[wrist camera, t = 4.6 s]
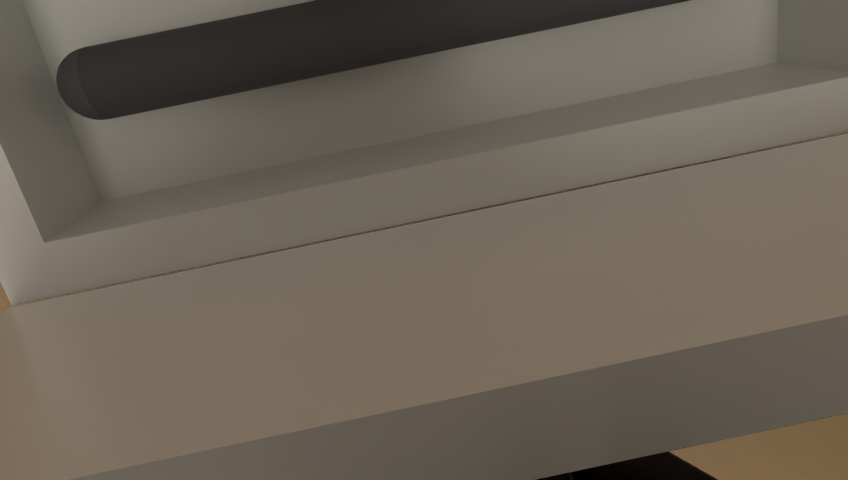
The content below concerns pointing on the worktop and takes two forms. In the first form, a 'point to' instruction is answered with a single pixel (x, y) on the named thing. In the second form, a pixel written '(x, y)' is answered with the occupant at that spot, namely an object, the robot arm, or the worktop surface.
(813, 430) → the worktop surface
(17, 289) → the cable tray
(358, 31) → the patch cord
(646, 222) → the lid
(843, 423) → the worktop surface
